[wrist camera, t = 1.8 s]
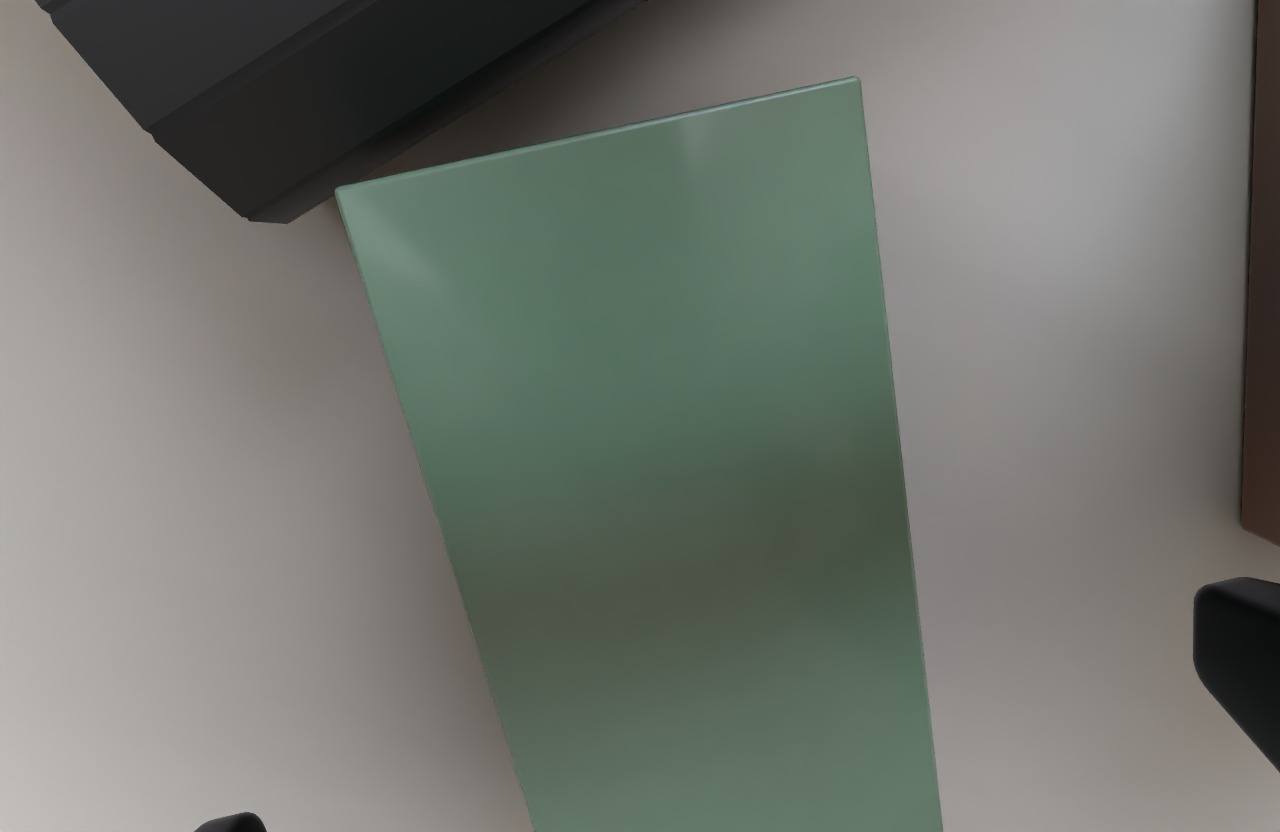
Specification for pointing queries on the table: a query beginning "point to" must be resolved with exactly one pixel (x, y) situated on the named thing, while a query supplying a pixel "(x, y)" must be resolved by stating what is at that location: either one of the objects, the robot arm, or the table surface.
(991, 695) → the table surface
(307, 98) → the dark leather journal
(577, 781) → the green rectangular block
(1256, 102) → the rack
